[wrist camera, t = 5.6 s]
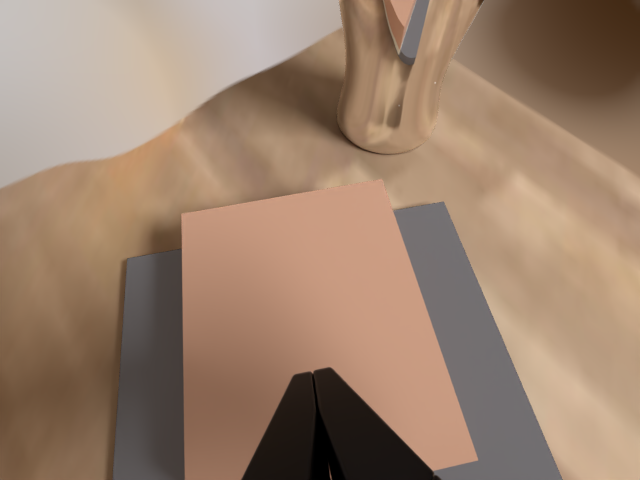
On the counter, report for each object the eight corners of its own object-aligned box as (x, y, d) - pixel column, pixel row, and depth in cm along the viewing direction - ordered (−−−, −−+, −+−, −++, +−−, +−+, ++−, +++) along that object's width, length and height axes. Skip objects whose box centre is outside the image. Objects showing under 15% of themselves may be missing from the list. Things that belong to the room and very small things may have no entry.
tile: (478, 460, 11) (382, 178, 16) (185, 528, 10) (181, 213, 15) (454, 454, 13) (375, 207, 18) (210, 510, 12) (199, 239, 17)
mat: (612, 619, 11) (626, 628, 11) (104, 757, 10) (92, 775, 10) (440, 207, 19) (443, 201, 18) (133, 263, 17) (127, 258, 17)
